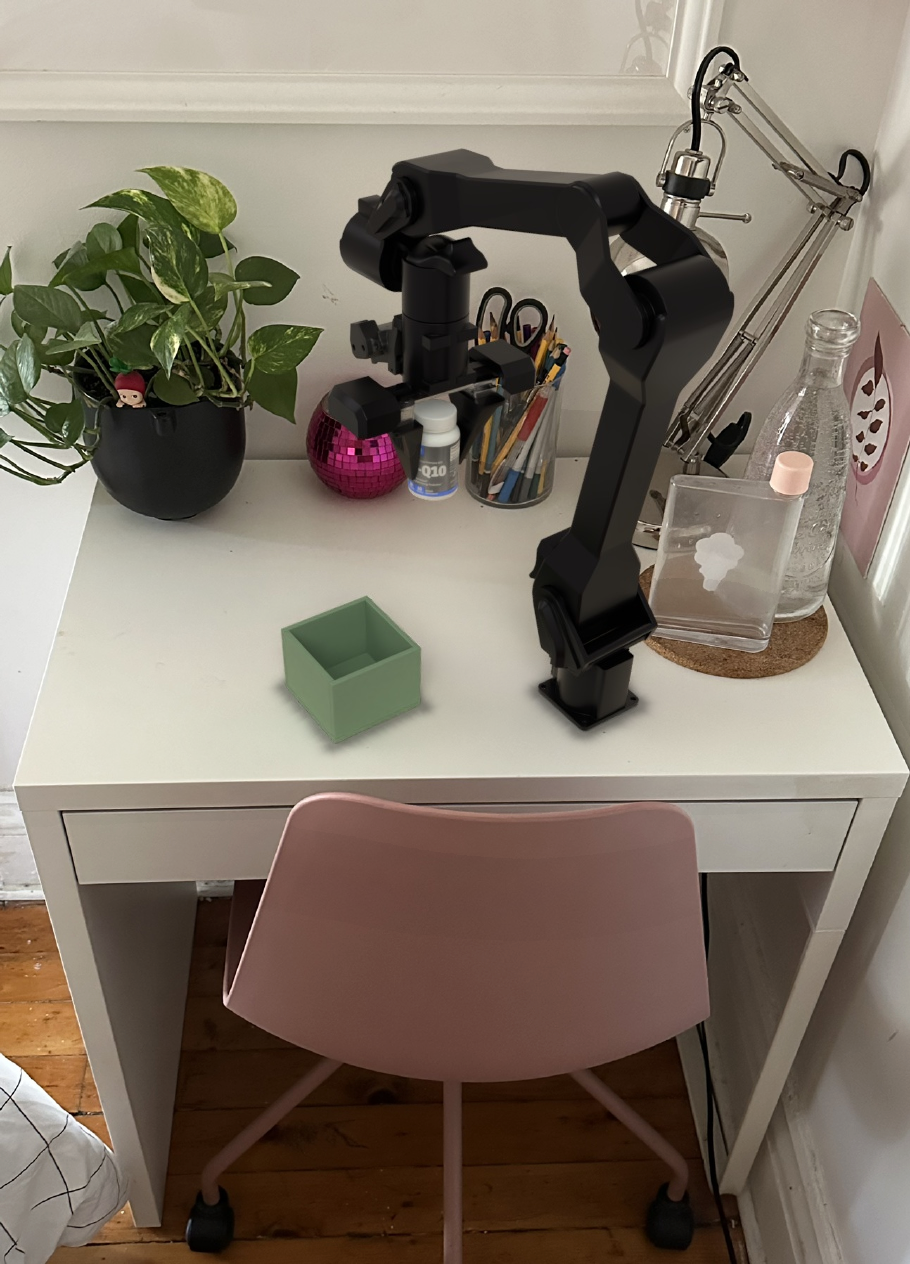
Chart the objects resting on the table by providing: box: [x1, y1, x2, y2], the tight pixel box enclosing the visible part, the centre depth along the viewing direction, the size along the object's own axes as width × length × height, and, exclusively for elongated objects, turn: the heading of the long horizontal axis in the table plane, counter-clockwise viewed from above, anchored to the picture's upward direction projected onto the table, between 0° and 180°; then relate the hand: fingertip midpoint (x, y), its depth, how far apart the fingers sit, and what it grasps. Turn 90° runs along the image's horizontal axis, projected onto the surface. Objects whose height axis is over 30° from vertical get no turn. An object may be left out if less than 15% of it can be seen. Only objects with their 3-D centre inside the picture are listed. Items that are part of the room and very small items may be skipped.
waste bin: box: [280, 595, 422, 744], centre depth 97 cm, size 8×8×6 cm
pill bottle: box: [407, 398, 460, 502], centre depth 105 cm, size 5×5×8 cm
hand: (433, 470), depth 106 cm, fingers closed on pill bottle, 5 cm apart
